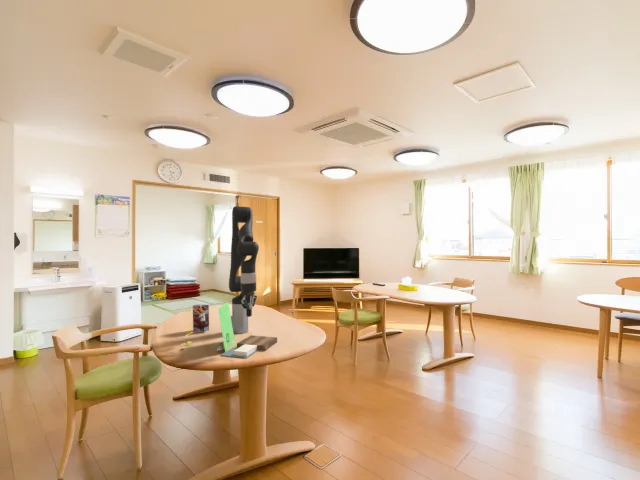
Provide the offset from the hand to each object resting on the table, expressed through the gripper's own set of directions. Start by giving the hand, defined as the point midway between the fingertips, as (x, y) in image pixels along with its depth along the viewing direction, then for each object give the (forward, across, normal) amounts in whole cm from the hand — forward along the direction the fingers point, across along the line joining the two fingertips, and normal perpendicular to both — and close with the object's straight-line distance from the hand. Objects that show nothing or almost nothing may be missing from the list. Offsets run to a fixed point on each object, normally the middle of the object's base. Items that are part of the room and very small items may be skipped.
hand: (249, 316), depth 165 cm
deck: (+17, -8, 0) cm, 19 cm away
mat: (+17, +5, -3) cm, 18 cm away
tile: (+17, +4, 0) cm, 17 cm away
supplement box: (+18, -23, -46) cm, 54 cm away
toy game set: (+17, +1, -25) cm, 30 cm away
